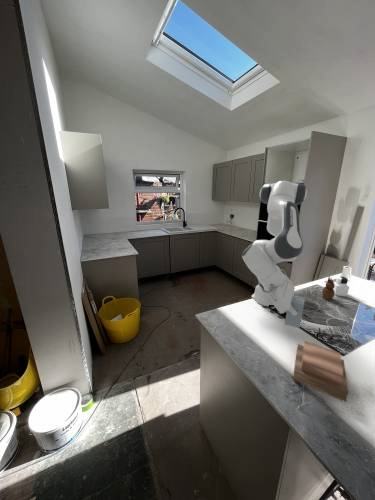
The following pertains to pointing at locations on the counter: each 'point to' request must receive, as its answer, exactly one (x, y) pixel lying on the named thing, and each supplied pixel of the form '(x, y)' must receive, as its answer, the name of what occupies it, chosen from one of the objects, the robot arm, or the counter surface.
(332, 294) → the wooden figurine
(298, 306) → the slate brick
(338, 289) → the medicine bottle
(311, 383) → the plinth
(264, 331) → the counter surface
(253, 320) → the counter surface
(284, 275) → the robot arm
